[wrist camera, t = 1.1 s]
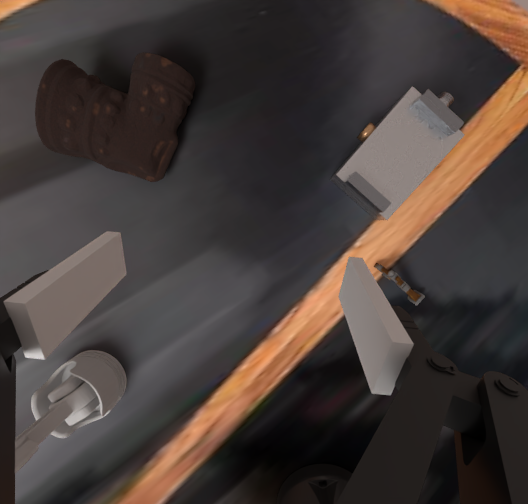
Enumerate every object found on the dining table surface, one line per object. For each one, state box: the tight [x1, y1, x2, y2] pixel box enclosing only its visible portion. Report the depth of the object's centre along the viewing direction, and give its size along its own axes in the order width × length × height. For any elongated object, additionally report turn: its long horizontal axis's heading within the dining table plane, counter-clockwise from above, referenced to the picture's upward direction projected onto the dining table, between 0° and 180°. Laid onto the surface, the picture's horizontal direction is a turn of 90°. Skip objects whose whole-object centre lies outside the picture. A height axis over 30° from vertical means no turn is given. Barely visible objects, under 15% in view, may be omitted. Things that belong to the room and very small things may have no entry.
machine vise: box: [330, 86, 464, 220], centre depth 36 cm, size 10×17×6 cm, turn 139°
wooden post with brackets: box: [374, 263, 425, 305], centre depth 40 cm, size 2×8×4 cm, turn 51°
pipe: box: [35, 53, 195, 182], centre depth 36 cm, size 10×15×15 cm
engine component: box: [15, 350, 127, 473], centre depth 34 cm, size 11×20×10 cm
